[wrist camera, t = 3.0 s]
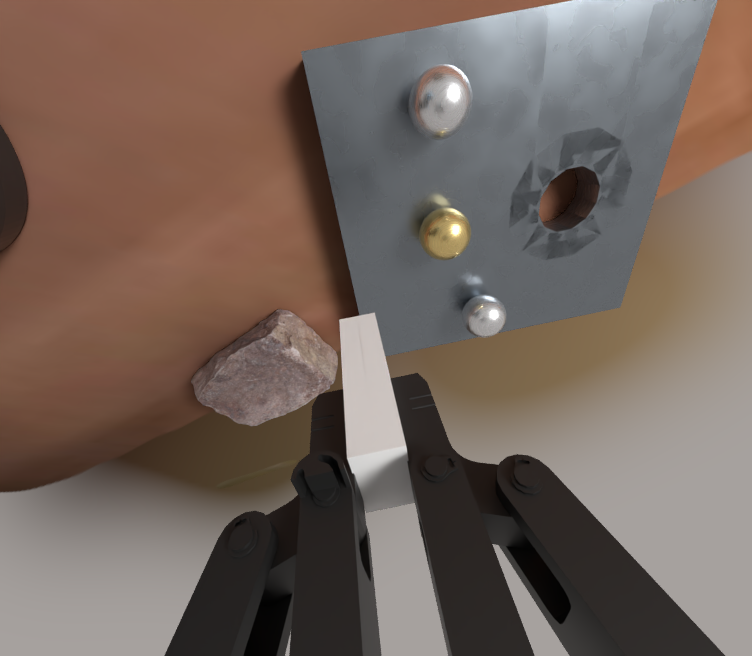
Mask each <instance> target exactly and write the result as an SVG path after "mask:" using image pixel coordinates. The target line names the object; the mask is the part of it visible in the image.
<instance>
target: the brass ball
mask: <svg viewBox="0 0 752 656" xmlns="http://www.w3.org/2000/svg"><path fill="white" fill-rule="evenodd" d="M470 238H471V227H470V223H469V221H468V219H467V218H466V216H465V215H464V214H463V213H462V212H460V211H458V210H456V209H454V208H440V209H437V210H435V211H433V212H431V213H430V214H429V215H428V216H427V217H426V218H425V219H424V221H423V222H422V225H421V227H420V232H419V239H420V243H421V246H422V248H423V250H424V251H425V252H426V253H427V254H428V255H429V256H431V257H432V258H434V259H437V260H450V259H453V258H455V257H457V256H459V255H460V254H461V253H463V251H464V250H465V249H466V248H467V246H468V244H469V241H470Z"/></svg>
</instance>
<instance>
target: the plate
mask: <svg viewBox="0 0 752 656" xmlns="http://www.w3.org/2000/svg"><path fill="white" fill-rule="evenodd" d="M716 3H717V0H573V1H567V2H562V3H557V4H551V5H546V6H541V7H535V8H530V9H525V10H519V11H514V12H509V13H503V14H498V15H493V16H487V17H482V18H477V19H471V20H466V21H461V22H456V23H450V24H445V25H440V26H434V27H429V28H424V29H418V30H413V31H408V32H402V33H397V34H392V35H386V36H381V37H376V38H370V39H365V40H360V41H354V42H349V43H344V44H339V45H333V46H328V47H323V48H317V49H312V50H307V51H301V53H302V58H303V62H304V67H305V71H306V76H307V81H308V85H309V90H310V94H311V99H312V103H313V108H314V112H315V117H316V121H317V126H318V130H319V135H320V139H321V144H322V148H323V153H324V157H325V162H326V166H327V171H328V175H329V180H330V184H331V189H332V193H333V198H334V202H335V207H336V211H337V216H338V220H339V225H340V230H341V234H342V239H343V243H344V248H345V252H346V257H347V261H348V266H349V270H350V275H351V279H352V284H353V288H354V293H355V297H356V302H357V306H358V311H359V315H365V314H370V313H375V316H376V320H377V324H378V329H379V333H380V337H381V341H382V346H383V350H384V354H385V356H389V355H394V354H399V353H403V352H409V351H413V350H418V349H423V348H427V347H433V346H437V345H442V344H447V343H452V342H456V341H461V340H466V339H471V338H475V337H478V336H475V335H473V334H471V333H470V332H468V331H467V329H466V328H465V327H464V325H463V322H462V310H463V308H464V306H465V304H466V303H467V302H468V301H469V300H470V299H472V298H473V297H475V296H479V295H490V296H493V297H495V298H497V299H498V300H500V301H501V302H502V304H503V305H504V307H505V310H506V322H505V325H504V326H503V328H502V329H501V330H500V331H499V332H498V333H500V332H504V331H509V330H514V329H519V328H524V327H528V326H533V325H538V324H543V323H548V322H553V321H557V320H562V319H567V318H572V317H576V316H581V315H586V314H591V313H596V312H600V311H605V310H610V309H615V308H619V307H620V306H621V303H622V300H623V297H624V294H625V291H626V287H627V284H628V281H629V278H630V275H631V272H632V268H633V265H634V262H635V259H636V256H637V253H638V250H639V246H640V243H641V240H642V237H643V234H644V231H645V227H646V224H647V221H648V218H649V215H650V211H651V208H652V205H653V202H654V199H655V196H656V193H657V189H658V186H659V183H660V180H661V177H662V174H663V171H664V167H665V164H666V161H667V158H668V155H669V152H670V148H671V145H672V142H673V139H674V136H675V133H676V129H677V126H678V123H679V120H680V117H681V114H682V111H683V107H684V104H685V101H686V98H687V95H688V92H689V88H690V85H691V82H692V79H693V76H694V73H695V69H696V66H697V63H698V60H699V57H700V54H701V50H702V47H703V44H704V41H705V38H706V35H707V32H708V28H709V25H710V22H711V19H712V16H713V13H714V9H715V6H716ZM439 64H449V65H453V66H455V67H457V68H458V69H460V70H461V71H462V72H463V73H464V74H465V75H466V77H467V79H468V80H469V83H470V85H471V89H472V107H471V111H470V114H469V117H468V119H467V121H466V122H465V124H464V125H463V127H462V128H461V129H460V130H459V131H458V132H457V133H455V134H454V135H453V136H451V137H449V138H447V139H443V140H431V139H428V138H426V137H424V136H422V135H421V134H420V133H419V132H418V131H417V130H416V129H415V128H414V126H413V124H412V122H411V119H410V115H409V97H410V93H411V90H412V88H413V85H414V84H415V82H416V80H417V79H418V77H419V76H420V75H421V74H422V73H423V72H425V71H426V70H427V69H429V68H430V67H433V66H435V65H439ZM570 168H574V171H575V173H576V176H577V179H578V184H577V189H576V195H575V197H574V199H573V200H572V202H571V203H570V205H569V207H568V208H567V210H566V211H565V212H563V213H562V214H561V215H559V216H558V217H556V218H555V219H554V220H551V221H546V222H542V221H541V219H540V217H539V207H540V199H541V197H542V195H543V193H544V192H545V190H546V188H547V187H548V185H549V183H550V182H551V181H552V180H553V179H554V178H556V177H557V176H558V175H560V174H561V173H562V172H564V171H565V170H566V169H570ZM440 208H454V209H456V210H458V211H460V212H462V213H463V214H464V215H465V216H466V218H467V219H468V221H469V223H470V227H471V238H470V241H469V244H468V246H467V248H466V249H465V250H464V251H463V253H461V254H460V255H459V256H457V257H455V258H453V259H450V260H437V259H434V258H432V257H431V256H429V255H428V254H427V253H426V252H425V251H424V250H423V248H422V246H421V243H420V239H419V232H420V227H421V225H422V222H423V221H424V219H425V218H426V217H427V216H428V215H429V214H430V213H431V212H433V211H435V210H437V209H440Z"/></svg>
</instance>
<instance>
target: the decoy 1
mask: <svg viewBox="0 0 752 656" xmlns="http://www.w3.org/2000/svg"><path fill="white" fill-rule="evenodd" d="M471 107H472V89H471V85H470V83H469V80H468V79H467V77H466V75H465V74H464V73H463V72H462V71H461V70H460V69H458V68H457V67H455V66H453V65H449V64H439V65H435V66H433V67H430V68H429V69H427V70H426V71H425V72H423V73H422V74H421V75H420V76H419V77H418V79H417V80H416V82H415V84H414V85H413V88H412V90H411V93H410V97H409V115H410V119H411V122H412V124H413V126H414V128H415V129H416V130H417V131H418V132H419V133H420V134H421V135H422V136H424V137H426V138H428V139H431V140H443V139H447V138H449V137H451V136H453V135H454V134H455V133H457V132H458V131H459V130H460V129H461V128H462V127H463V125H464V124H465V122H466V121H467V119H468V117H469V114H470V111H471Z"/></svg>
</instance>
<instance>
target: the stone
mask: <svg viewBox="0 0 752 656" xmlns="http://www.w3.org/2000/svg"><path fill="white" fill-rule="evenodd" d="M336 353H337V352H335V351H334V350H333V348H332V347H331V346H329V345H328V344H326V343H325V342H323V341H322V339H321V338H320V336H319V335H317V334H316V333H315V332H314V330H313V329H312V328H310V327H308V326H307V325H306V323H305V322H304V321H303V320H301V319H300V318H299V317H298V316H297V315H294V314H293V313H291V312H290V311H288V310H282V309H278V310H276V311H275V312H274V313H273V314H272V315H271V316H269V317H268V318H267V319H265V320H263V321H261V322H259V325H258V326H256V327H255V328H253V329H252V330H251V331H249V332H247V333H246V334H245V335H243V336H241V337H239V338H238V339H237V340H236V341H235V342H234V343H233V344H231V345H229V346H228V347H226V348H225V349H223V350H221V351H219V352H218V353H216V354H215V355H214V356H213V357H212V358H211V359H210V361H209V362H208V363H207V364H206V365H205V366H204V367H202V368H200V369H199V370H198V371H197V372H196V374H195V375H194V376H193V378H192V379H191V383H193V386H194V390H195V395H196V397H197V400H198V401H200V402H201V403H202V404H203V405H204V406H209V407H212V408H214V410H215V411H216V412H217V413H219V414H222V415H226V416H228V417H229V418H231V419H232V420H233V421H235V422H237V423H240V424H247V425H250V426H257V425H259V424H261V423H263V422H264V421H267V420H270V419H272V418H275V417H278V416H281V415H285V414H286V413H288V412H291V411H294V410H296V409H298V408H300V407H301V406H303V405H305V404H307V403H308V402H309V401H310V400H312V399H313V398H315V397H316V396H318V395H319V394H321V393H323V392H324V391H325V390H327V389H329V388H330V385H331V384H333V382H334V381H335V375H336V370H337V366H338V356H337V355H336Z"/></svg>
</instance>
